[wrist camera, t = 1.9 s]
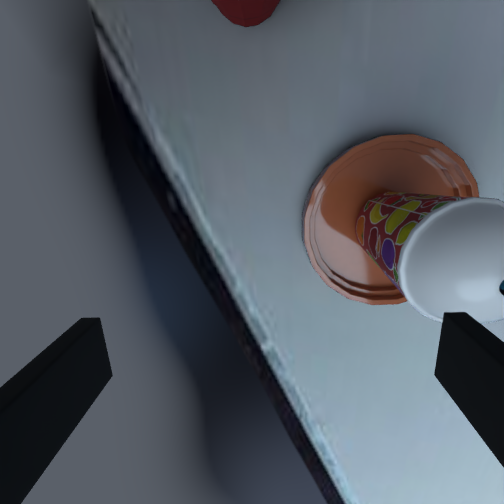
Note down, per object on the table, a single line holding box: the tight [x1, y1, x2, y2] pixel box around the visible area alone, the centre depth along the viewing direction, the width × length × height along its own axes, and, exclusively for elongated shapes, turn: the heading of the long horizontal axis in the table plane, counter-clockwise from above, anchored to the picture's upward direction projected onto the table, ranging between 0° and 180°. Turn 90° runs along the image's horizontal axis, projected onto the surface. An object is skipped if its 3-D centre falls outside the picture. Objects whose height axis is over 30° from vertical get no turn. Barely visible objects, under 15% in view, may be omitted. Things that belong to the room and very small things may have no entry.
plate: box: [302, 134, 479, 305], centre depth 32 cm, size 17×17×2 cm
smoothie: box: [355, 192, 504, 324], centre depth 23 cm, size 8×8×20 cm
